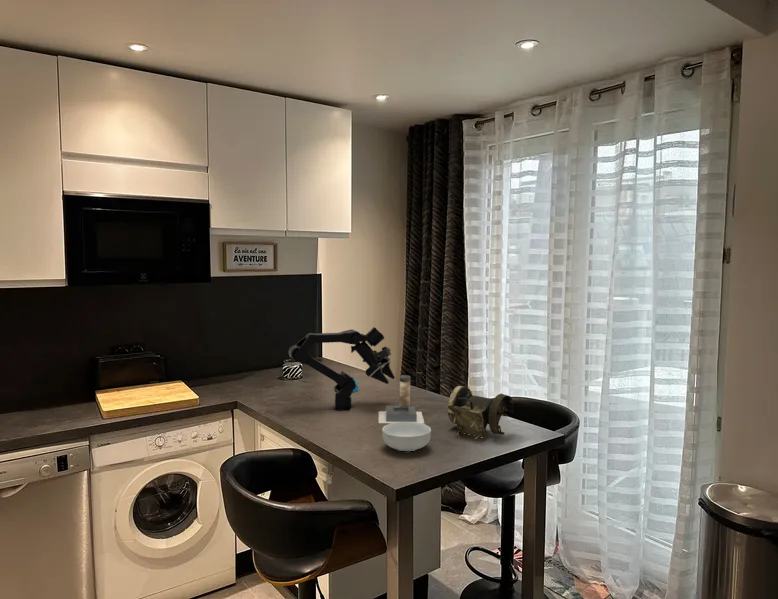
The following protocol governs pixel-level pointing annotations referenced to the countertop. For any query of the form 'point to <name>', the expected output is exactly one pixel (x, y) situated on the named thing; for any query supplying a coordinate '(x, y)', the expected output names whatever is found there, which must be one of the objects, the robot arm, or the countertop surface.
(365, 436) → the countertop surface
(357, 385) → the gear
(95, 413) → the countertop surface
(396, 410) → the housing
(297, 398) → the countertop surface
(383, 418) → the board
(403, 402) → the beige tall cylinder
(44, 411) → the countertop surface
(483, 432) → the bench grinder
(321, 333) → the robot arm
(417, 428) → the cereal bowl
